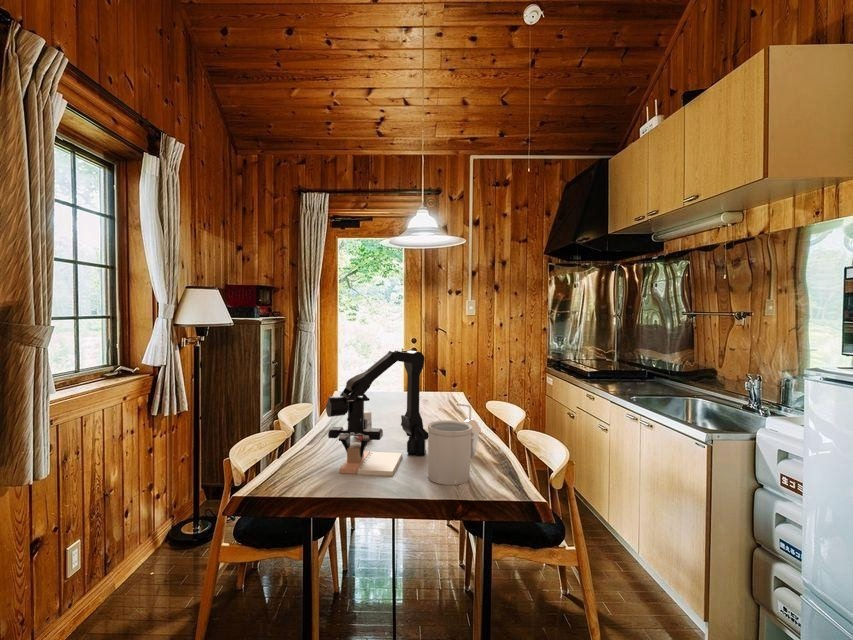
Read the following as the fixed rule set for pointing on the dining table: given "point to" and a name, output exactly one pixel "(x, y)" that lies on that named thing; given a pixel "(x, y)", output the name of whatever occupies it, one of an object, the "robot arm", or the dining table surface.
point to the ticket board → (380, 464)
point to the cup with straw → (474, 433)
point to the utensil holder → (449, 452)
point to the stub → (353, 459)
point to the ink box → (369, 422)
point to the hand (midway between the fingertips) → (355, 457)
